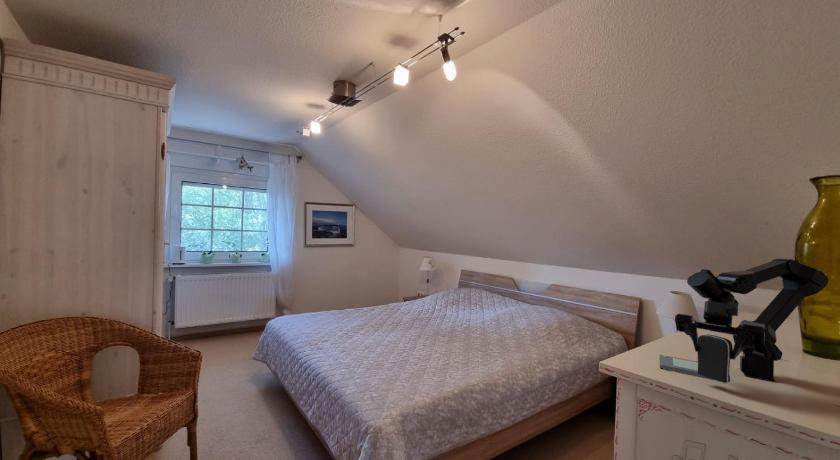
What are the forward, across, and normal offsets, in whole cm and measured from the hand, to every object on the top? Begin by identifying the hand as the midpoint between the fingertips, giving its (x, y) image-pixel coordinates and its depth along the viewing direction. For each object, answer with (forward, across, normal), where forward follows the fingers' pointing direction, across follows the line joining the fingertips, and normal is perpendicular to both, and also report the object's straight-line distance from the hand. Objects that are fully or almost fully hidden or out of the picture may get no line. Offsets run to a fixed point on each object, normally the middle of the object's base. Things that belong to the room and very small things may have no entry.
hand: (714, 354), depth 92 cm
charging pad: (-3, -8, +16) cm, 18 cm away
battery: (+4, 0, +6) cm, 7 cm away
